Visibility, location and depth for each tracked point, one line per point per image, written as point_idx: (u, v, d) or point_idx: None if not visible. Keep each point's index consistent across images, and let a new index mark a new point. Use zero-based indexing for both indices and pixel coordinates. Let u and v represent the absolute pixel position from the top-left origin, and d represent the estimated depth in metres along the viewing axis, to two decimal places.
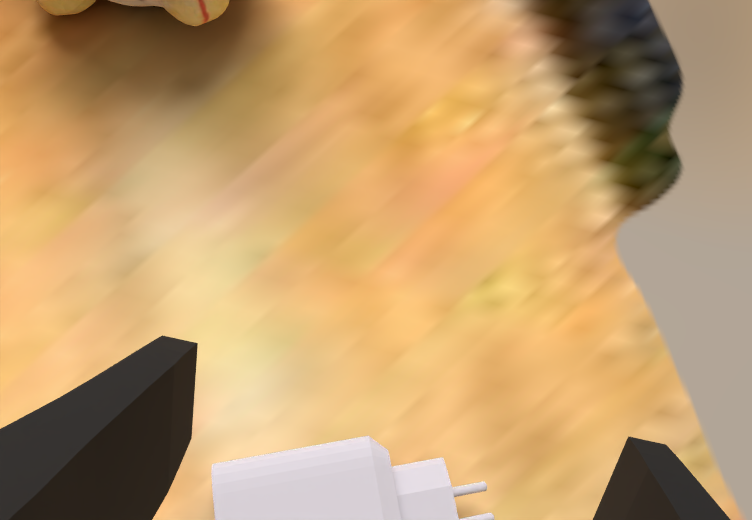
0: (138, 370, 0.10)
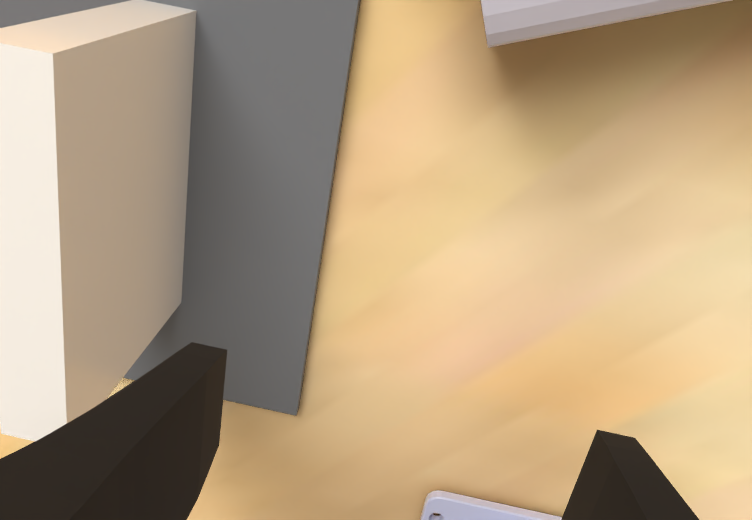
0: (172, 377, 0.10)
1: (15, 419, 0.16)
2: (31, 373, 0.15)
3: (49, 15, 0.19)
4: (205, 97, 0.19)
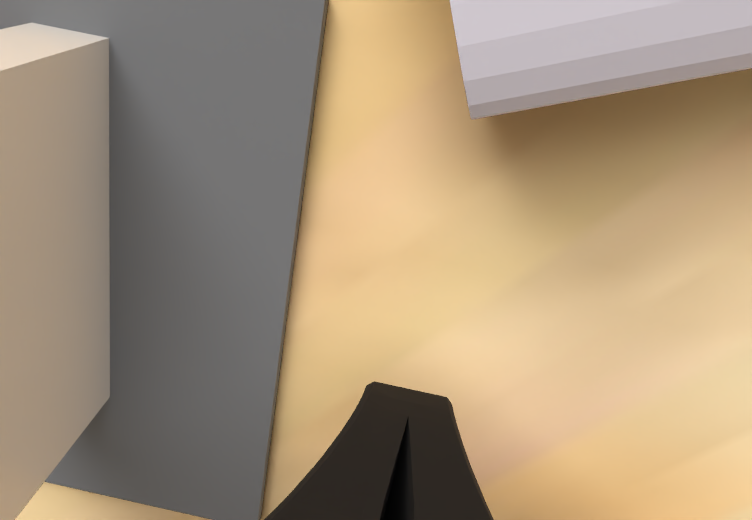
0: (381, 423, 0.10)
1: None
2: None
3: None
4: (126, 149, 0.15)
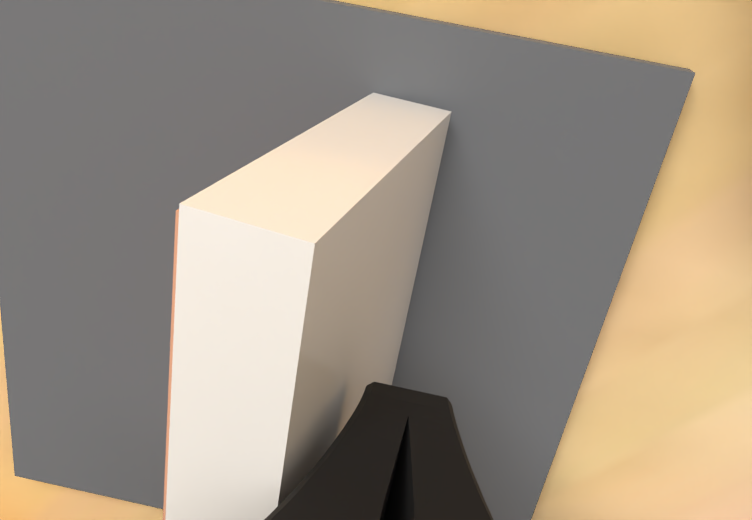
0: (381, 423, 0.10)
1: None
2: None
3: (247, 111, 0.14)
4: (448, 216, 0.15)
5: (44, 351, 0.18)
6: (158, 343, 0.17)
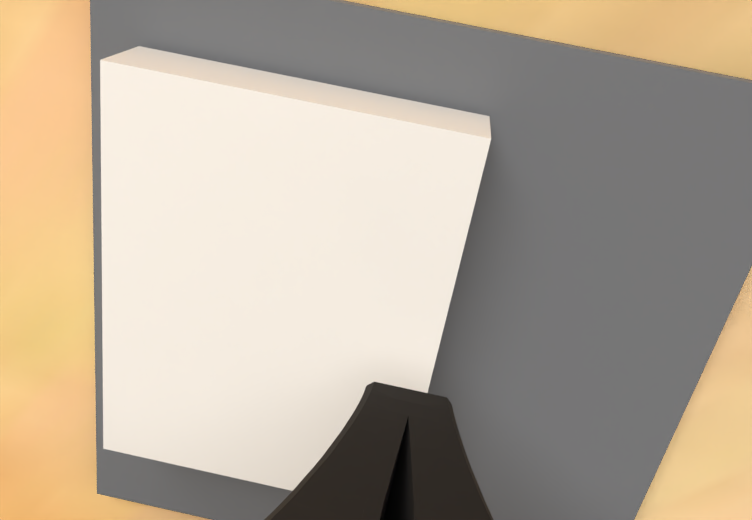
0: (381, 423, 0.10)
1: None
2: None
3: None
4: (563, 239, 0.14)
5: None
6: None
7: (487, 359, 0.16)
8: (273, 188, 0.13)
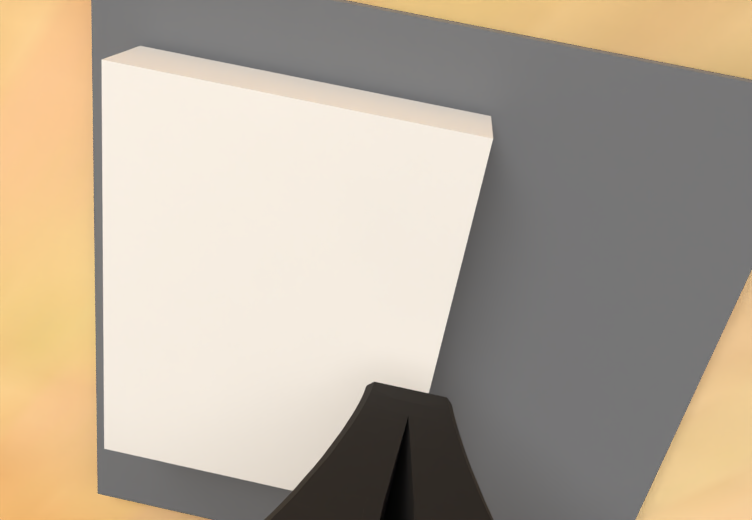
0: (381, 423, 0.10)
1: None
2: None
3: None
4: (564, 239, 0.14)
5: None
6: None
7: (489, 359, 0.16)
8: (274, 188, 0.13)
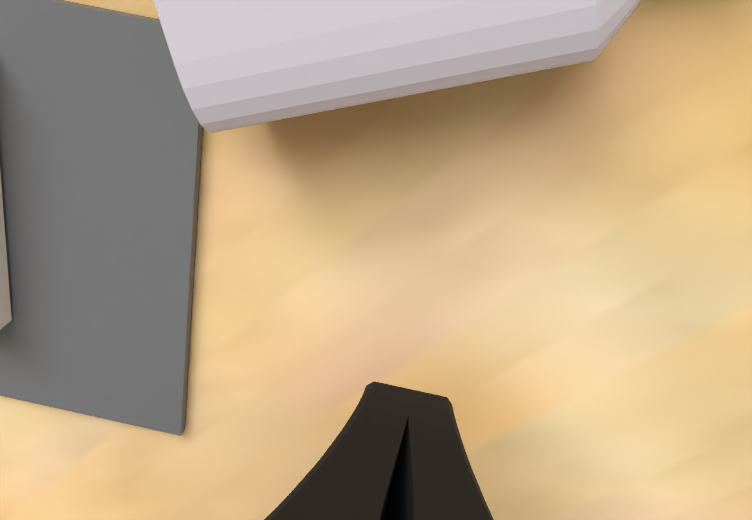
0: (381, 423, 0.10)
1: None
2: None
3: None
4: (69, 137, 0.20)
5: None
6: None
7: (47, 232, 0.22)
8: None
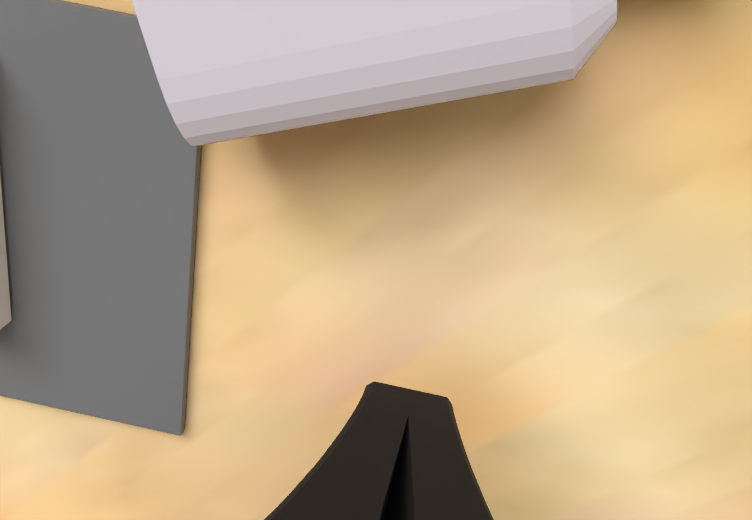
0: (381, 423, 0.10)
1: None
2: None
3: None
4: (69, 137, 0.20)
5: None
6: None
7: (47, 232, 0.22)
8: None
